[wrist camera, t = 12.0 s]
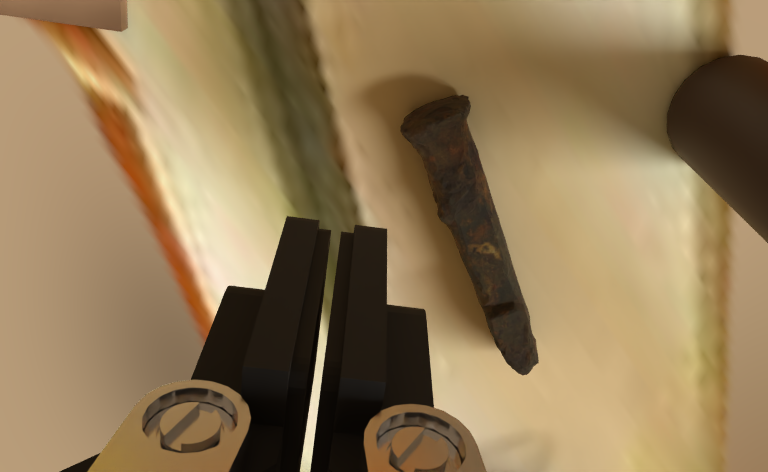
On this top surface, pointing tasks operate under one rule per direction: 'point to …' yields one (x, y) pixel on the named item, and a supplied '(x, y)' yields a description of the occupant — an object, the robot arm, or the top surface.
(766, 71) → the bottle
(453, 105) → the hand tool
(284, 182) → the top surface
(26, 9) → the tongs board
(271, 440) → the robot arm
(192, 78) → the top surface
